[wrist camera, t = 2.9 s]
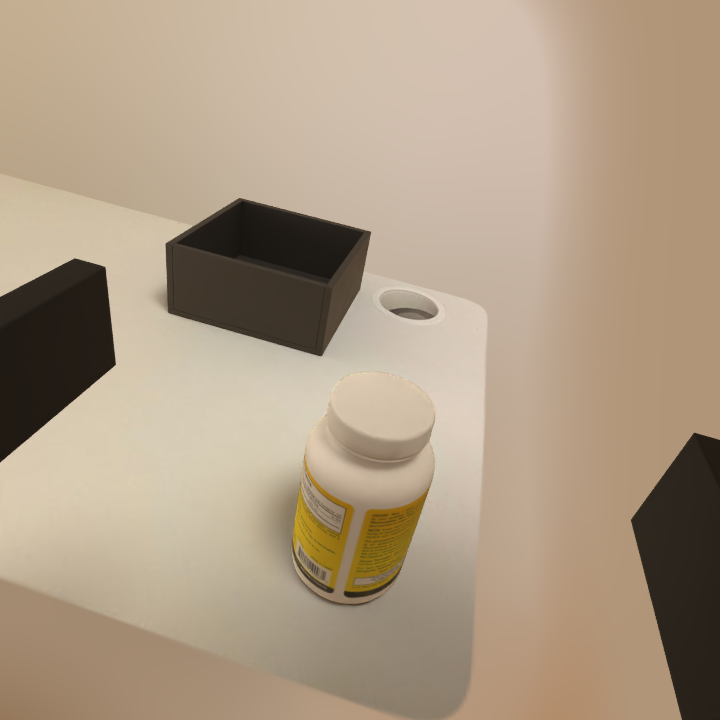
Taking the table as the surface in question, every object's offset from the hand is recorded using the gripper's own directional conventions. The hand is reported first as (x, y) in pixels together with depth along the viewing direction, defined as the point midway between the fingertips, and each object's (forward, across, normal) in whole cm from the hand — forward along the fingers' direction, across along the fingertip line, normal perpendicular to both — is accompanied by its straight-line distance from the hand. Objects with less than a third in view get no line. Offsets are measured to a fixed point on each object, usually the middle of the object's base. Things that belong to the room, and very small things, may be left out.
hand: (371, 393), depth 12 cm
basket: (+34, -14, -18) cm, 41 cm away
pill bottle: (+9, 0, -18) cm, 20 cm away
